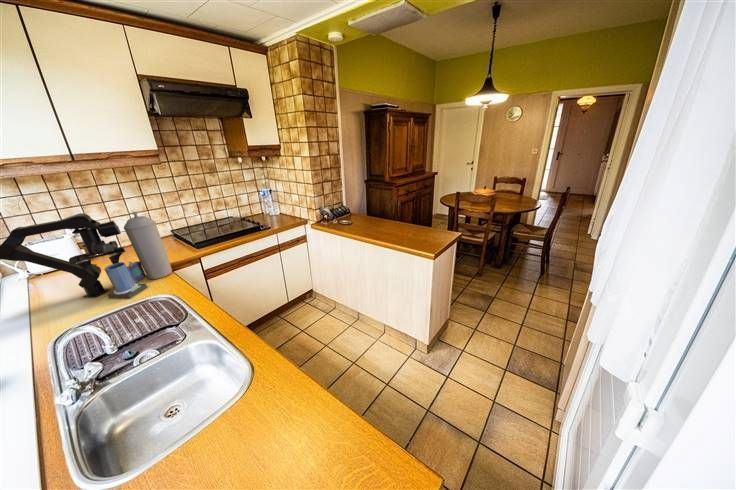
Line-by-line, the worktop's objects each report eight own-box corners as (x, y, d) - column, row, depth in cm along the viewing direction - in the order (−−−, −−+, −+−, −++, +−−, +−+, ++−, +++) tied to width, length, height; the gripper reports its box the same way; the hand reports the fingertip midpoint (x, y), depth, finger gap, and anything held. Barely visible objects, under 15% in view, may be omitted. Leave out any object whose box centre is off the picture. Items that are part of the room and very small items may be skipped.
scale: (109, 298, 124) (106, 293, 123) (127, 287, 133) (125, 282, 132) (130, 298, 123) (127, 293, 122) (147, 287, 132) (145, 282, 130)
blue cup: (111, 292, 124) (99, 269, 119) (125, 284, 130) (115, 262, 126) (125, 292, 123) (114, 269, 118) (139, 284, 130) (128, 262, 125)
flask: (133, 284, 135) (124, 265, 131) (128, 284, 135) (119, 266, 131) (147, 275, 143) (139, 257, 139) (142, 275, 144) (134, 258, 139)
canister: (180, 269, 148) (157, 208, 134) (159, 281, 136) (132, 216, 123) (161, 268, 150) (137, 208, 137) (139, 280, 139) (110, 216, 125)
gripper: (77, 240, 111) (93, 274, 113) (126, 232, 128) (139, 263, 131) (61, 246, 113) (77, 280, 116) (110, 238, 131) (123, 268, 133)
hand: (106, 272), depth 124 cm, fingers open, 9 cm apart
